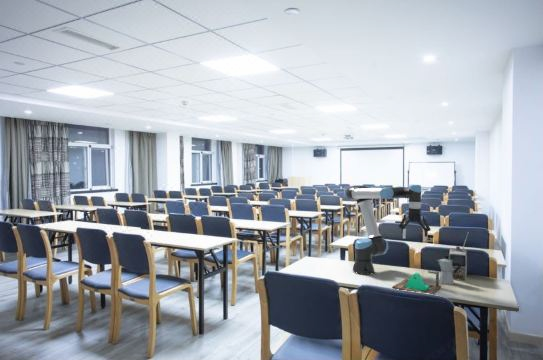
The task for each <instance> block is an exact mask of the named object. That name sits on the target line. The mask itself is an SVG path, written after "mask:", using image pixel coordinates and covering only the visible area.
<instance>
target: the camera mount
mask: <svg viewBox="0 0 543 360" xmlns="http://www.w3.org/2000/svg"><path fill="white" fill-rule="evenodd" d="M408 280H409V281H408V282H407V283H406V287H405V288H409V289H414V290H419V291H423V292H426V291H427V290H429V289H430V287H429V285H425V284H424V283H425V282H424V281H423V279H422V276H421V274H420V273H419V272H414V273H413V274H412V275H411V276H410V278H409V279H408Z"/></svg>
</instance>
